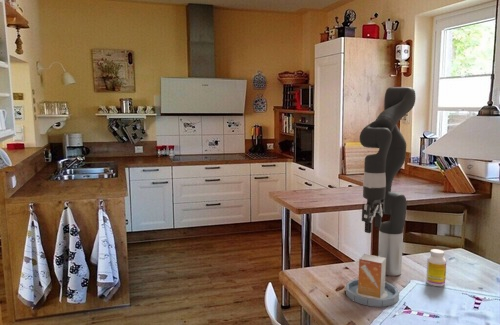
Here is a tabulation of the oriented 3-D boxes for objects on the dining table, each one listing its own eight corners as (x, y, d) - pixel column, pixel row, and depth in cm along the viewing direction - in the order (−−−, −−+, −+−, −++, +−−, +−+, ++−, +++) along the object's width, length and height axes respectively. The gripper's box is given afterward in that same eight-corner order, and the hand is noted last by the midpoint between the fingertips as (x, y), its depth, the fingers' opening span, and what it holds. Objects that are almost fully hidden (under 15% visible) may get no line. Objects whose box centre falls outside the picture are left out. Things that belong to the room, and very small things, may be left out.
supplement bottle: (447, 287, 153) (449, 254, 151) (428, 286, 154) (430, 253, 153) (442, 280, 159) (444, 248, 158) (424, 279, 161) (426, 247, 159)
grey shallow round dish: (359, 280, 160) (359, 274, 159) (405, 293, 148) (405, 286, 148) (337, 296, 146) (337, 290, 146) (386, 312, 135) (386, 305, 134)
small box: (357, 293, 146) (358, 258, 145) (362, 286, 152) (363, 253, 150) (380, 298, 142) (381, 262, 140) (385, 291, 147) (386, 257, 146)
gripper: (372, 180, 150) (371, 223, 152) (355, 186, 139) (354, 232, 141) (392, 183, 145) (390, 227, 147) (376, 189, 135) (375, 236, 137)
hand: (373, 229), depth 144 cm, fingers open, 8 cm apart
